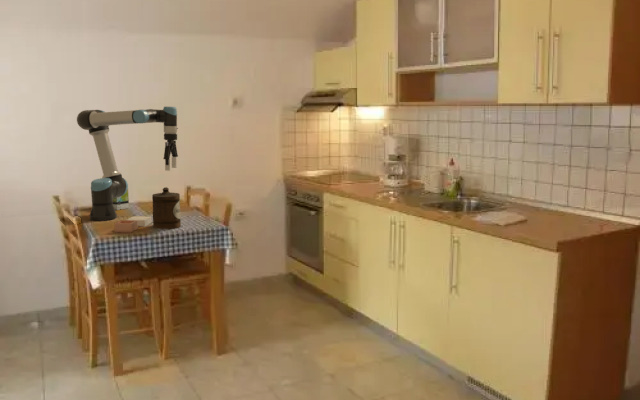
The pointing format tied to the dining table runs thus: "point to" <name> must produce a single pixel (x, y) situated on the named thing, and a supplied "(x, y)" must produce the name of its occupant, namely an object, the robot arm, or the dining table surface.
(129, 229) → the dish
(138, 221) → the lid
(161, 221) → the wooden container
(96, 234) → the dining table surface
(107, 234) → the dining table surface
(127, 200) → the tea box
